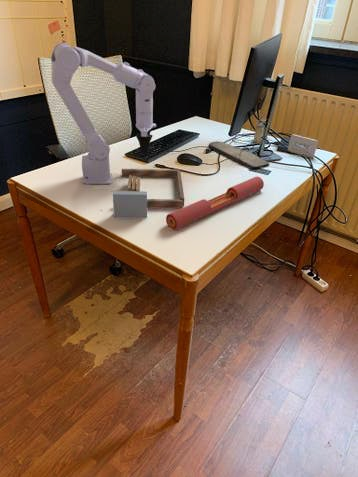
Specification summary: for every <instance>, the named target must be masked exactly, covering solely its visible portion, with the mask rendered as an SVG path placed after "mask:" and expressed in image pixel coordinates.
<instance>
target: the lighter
mask: <svg viewBox="0 0 358 477" xmlns="http://www.w3.org/2000/svg"><path fill="white" fill-rule="evenodd" d="M266 120H267V119H266V118H263V119H259V120H258V123H257V124H256V126H255V130H254V131H255V132H254V137H253V142H254V143H262V142H261V137H262V134H263V130H264V123H266V122H265V121H266ZM260 121H261V122H260Z"/></svg>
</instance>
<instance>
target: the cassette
mask: <svg viewBox="0 0 358 477" xmlns="http://www.w3.org/2000/svg"><path fill="white" fill-rule="evenodd" d="M318 142H319V141H318V140H317V139H313V138H309V137H306V136H305V137H304V136H302V135H297V134H294V133H293V134H291V135H290V139H289V143H288V148H287V151H288V152H290V153H293V154H297V155H301V156H303V157H307V158H315V154H316V151H317V150H316V149H317V147H318ZM301 144H302V145H301ZM303 145H305V146H303Z"/></svg>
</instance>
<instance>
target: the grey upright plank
mask: <svg viewBox="0 0 358 477" xmlns="http://www.w3.org/2000/svg"><path fill="white" fill-rule="evenodd" d="M147 199H148V191H145V190H144V191H142V190H140V191H128V190H126V191H125V190H123V191H121V190H116V191H115V190H113V191H112V203H113V205H112V206H113V217H114V218H127V219H128V218H129V219H130V218H132V219H133V218H134V219H135V218H142V219H143V218H144V219H145V218H148V208H147Z"/></svg>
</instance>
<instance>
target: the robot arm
mask: <svg viewBox="0 0 358 477" xmlns="http://www.w3.org/2000/svg"><path fill="white" fill-rule="evenodd" d="M50 62H51V84H52V85H53V87H54V89H55V90H56V93H57V94H58V95H59V97H60V98H61V100H62V102H63V104H64V105H65V107H66V108H67V110H68V112H69V114H70V115H71V117H72V119H73V121H74V122H75V123H76V125H77V127H78V128H79V130H80V133H81V134H82V136H83V137H84V139H85V140H84V141H85V145H86V147H87V148H88V149H89V150H88V153H87V154H86V155H85V154H84V155H82V158H81V170H82V171H81V172H82V178H83V184H88V185H92V184H93V185H94V184H95V185H97V184H98V185H111V184H112V178H113V173H111V168H110V166H111V165H110V150H111V148H110V146H109V144H108V143H107V142H106V141H105V139H104V137H103V136H102V135H101V134H100V133H99V132H98V131H97V129H96V127H95V125H94V124H93V122H92V120H91V119H90V116H88V114H87V111H86V110H85V108H84V107H83V105H82V103H81V100H79V97H78V96H77V94H76V92H75V90H74V89H73V86H72V85H71V82H72V78H73V75H74V74H75V72H76V71H77V70H78V69H79V67H80V68H85V67H93V68H95V69H98V70H101V71H102V72H105V73H108V74H111V75H112V76H113V79H114V81H115V82H118V83H120V84H123V85H125V86H127V87H129V88H132V89H135V116H136V117H135V121H136V123H135V127H136V128H137V130H138V133H137V132H136V133H135V137H136V139H137V141H138V144H139V149H140V153H141V154H143V155H148V153H149V148H150V145H151V144H150V143H151V141H152V138H153V134H151V132H152V130H153V128H156V127H157V124H156V123H154V122H153V121H154V120H153V115H154V114H153V111H154V110H153V109H154V108H153V107H154V99H153V95H154V94H153V93H154V91H155V90H156V85H157V84H155V80H154V77H152V76H151V75H149V74H148V73H146V72H144V70H143V69H140V68H139V69H137V68H135V67H132V65H130V63H128V62H126V61H124V62H118V63H113V62H111V61H110V60H107V59H105V58H103V57H102V56H100V55H97V54H95V53H93V52H91V51H89V50H86V49H84V48H81V47H78V46H75V45H72V46H71V45H70V44H69V43H67V42H60V43H58V44H56V45H55V46H54V47H53V50H52V53H51V56H50Z"/></svg>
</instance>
